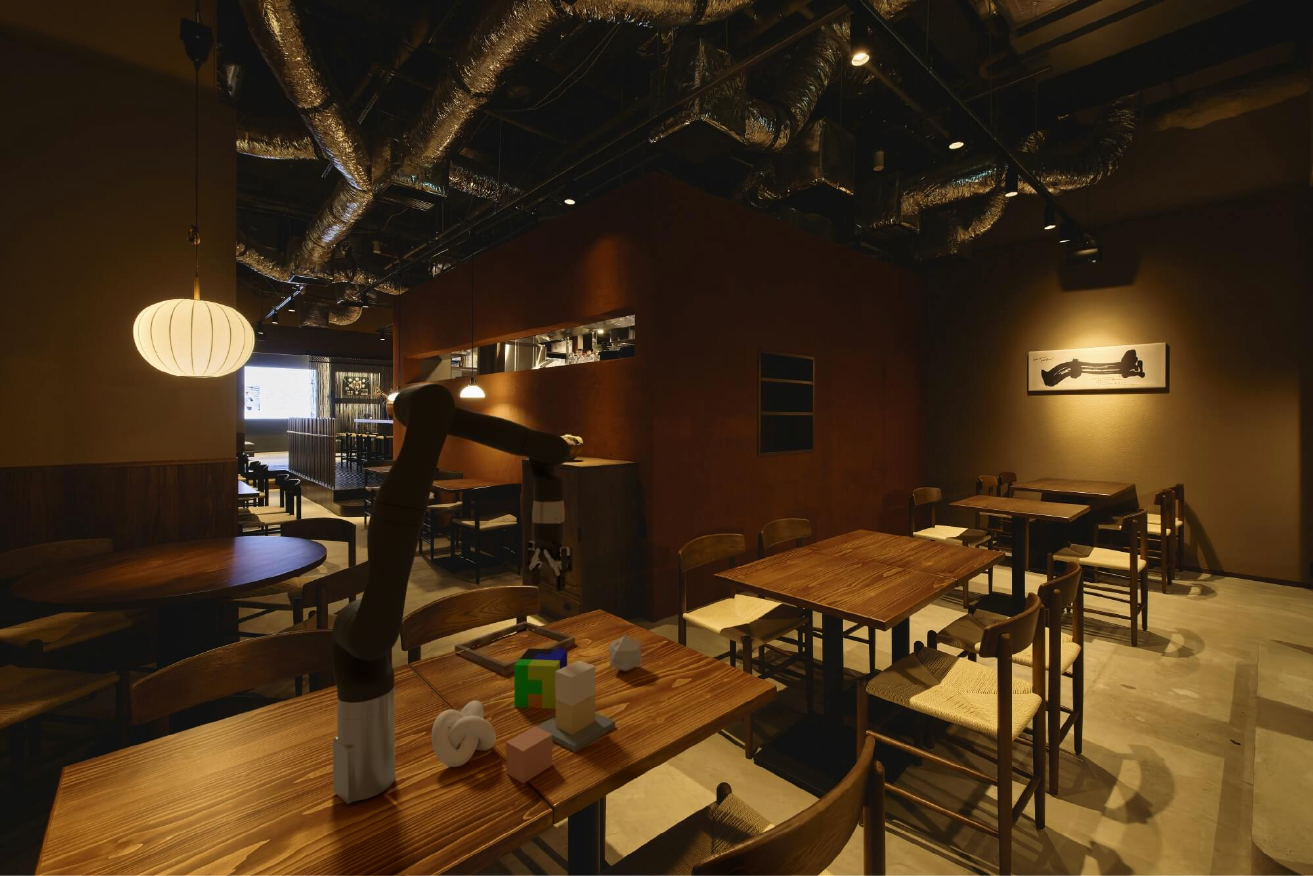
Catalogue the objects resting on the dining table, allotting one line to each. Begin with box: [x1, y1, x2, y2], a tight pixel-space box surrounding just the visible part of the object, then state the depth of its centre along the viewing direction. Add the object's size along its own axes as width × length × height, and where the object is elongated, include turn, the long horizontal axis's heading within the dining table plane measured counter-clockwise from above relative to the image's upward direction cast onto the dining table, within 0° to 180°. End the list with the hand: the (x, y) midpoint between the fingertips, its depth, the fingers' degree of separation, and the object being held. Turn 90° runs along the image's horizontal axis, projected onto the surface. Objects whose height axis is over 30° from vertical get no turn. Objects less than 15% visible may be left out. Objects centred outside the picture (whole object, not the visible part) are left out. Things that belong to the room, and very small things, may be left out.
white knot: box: [431, 700, 497, 768], centre depth 108 cm, size 11×12×9 cm
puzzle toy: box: [513, 647, 568, 710], centre depth 131 cm, size 10×10×10 cm
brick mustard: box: [555, 693, 596, 735], centre depth 117 cm, size 7×5×6 cm
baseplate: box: [536, 712, 616, 753], centre depth 117 cm, size 12×12×1 cm
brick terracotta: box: [505, 725, 553, 784], centre depth 103 cm, size 7×5×6 cm
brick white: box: [555, 660, 596, 706], centre depth 117 cm, size 7×5×6 cm
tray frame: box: [454, 621, 576, 676], centre depth 159 cm, size 25×23×3 cm
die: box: [609, 634, 643, 673], centre depth 145 cm, size 8×9×10 cm
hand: (547, 587), depth 128 cm, fingers open, 8 cm apart
